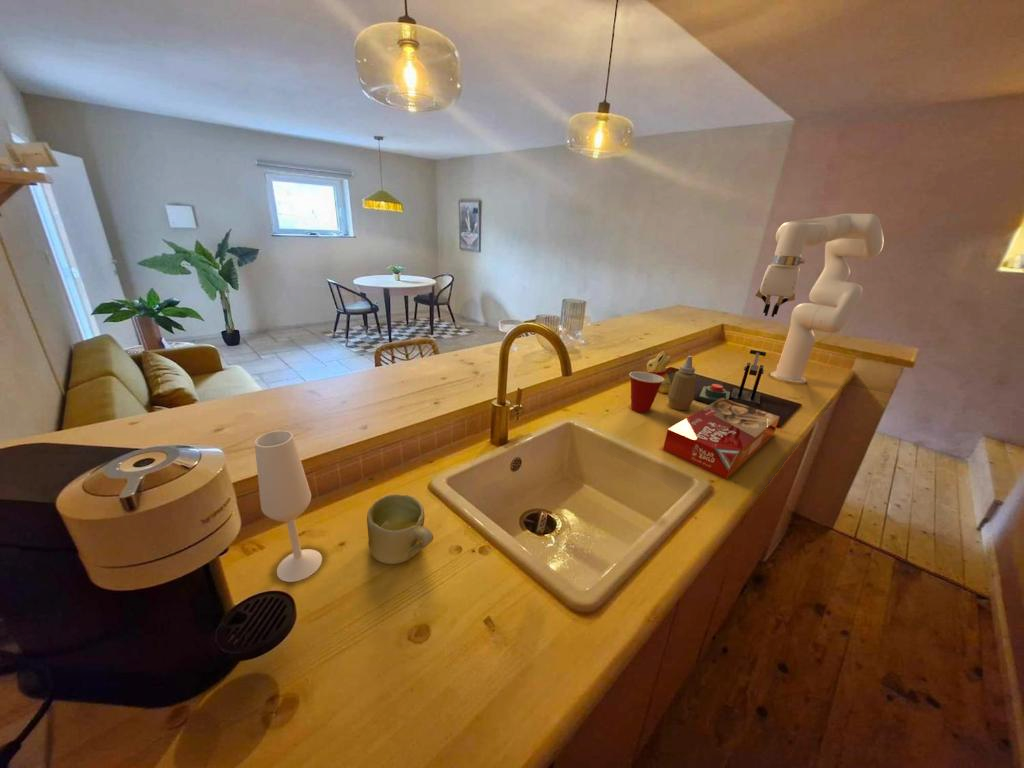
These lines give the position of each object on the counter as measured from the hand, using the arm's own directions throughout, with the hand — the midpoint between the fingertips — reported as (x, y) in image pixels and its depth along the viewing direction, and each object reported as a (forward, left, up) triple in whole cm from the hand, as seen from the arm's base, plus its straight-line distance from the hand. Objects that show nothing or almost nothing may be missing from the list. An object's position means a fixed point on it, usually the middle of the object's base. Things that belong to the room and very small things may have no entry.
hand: (769, 315), depth 138 cm
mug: (+106, -89, -29) cm, 141 cm away
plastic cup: (+31, -42, -29) cm, 60 cm away
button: (+13, -15, -26) cm, 33 cm away
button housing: (+14, -15, -29) cm, 36 cm away
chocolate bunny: (+11, -35, -29) cm, 47 cm away
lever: (+4, -1, -17) cm, 18 cm away
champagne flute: (+113, -104, -29) cm, 156 cm away
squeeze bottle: (+25, -29, -29) cm, 48 cm away
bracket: (+9, -3, -29) cm, 31 cm away
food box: (+46, -21, -29) cm, 59 cm away
